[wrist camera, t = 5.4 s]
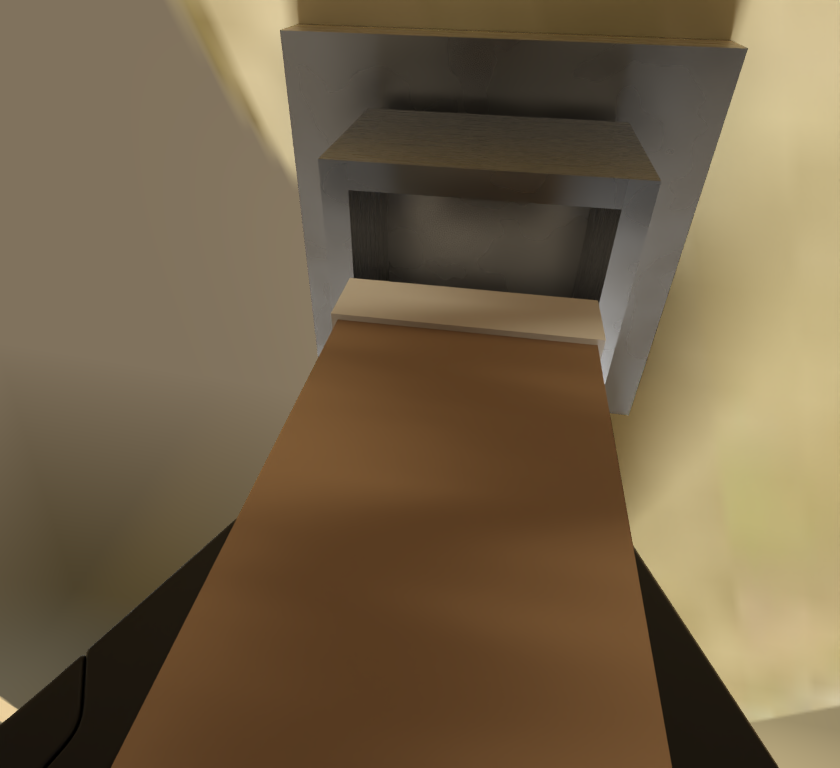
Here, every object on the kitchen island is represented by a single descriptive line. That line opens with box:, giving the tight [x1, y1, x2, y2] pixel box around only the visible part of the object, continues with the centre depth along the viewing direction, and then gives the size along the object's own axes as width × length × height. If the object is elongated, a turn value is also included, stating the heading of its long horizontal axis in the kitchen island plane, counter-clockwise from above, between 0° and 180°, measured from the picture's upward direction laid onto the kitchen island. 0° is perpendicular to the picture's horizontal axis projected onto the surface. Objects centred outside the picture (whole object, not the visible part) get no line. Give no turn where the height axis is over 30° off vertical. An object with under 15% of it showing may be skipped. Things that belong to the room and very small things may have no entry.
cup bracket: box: [280, 24, 748, 415], centre depth 16 cm, size 12×12×8 cm
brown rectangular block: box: [111, 278, 672, 768], centre depth 7 cm, size 4×4×9 cm
